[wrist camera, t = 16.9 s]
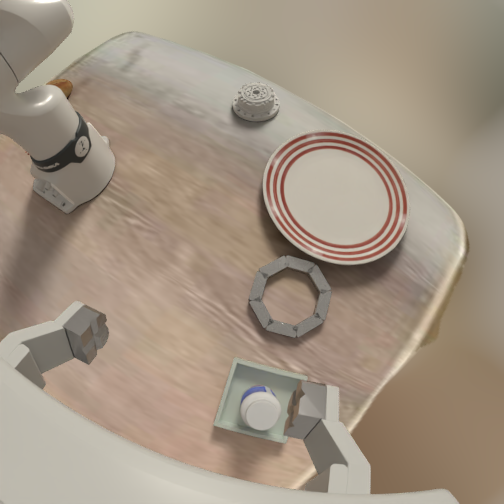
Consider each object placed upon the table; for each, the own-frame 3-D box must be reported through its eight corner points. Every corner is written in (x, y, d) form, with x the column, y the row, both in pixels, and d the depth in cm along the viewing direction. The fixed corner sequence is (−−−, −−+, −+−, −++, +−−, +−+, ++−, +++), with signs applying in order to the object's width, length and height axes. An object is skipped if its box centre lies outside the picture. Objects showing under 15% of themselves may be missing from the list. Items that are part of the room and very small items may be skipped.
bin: (215, 420, 40) (213, 425, 37) (235, 356, 43) (234, 357, 40) (284, 438, 39) (285, 443, 36) (304, 375, 42) (307, 377, 40)
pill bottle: (235, 408, 40) (231, 425, 31) (250, 378, 41) (250, 389, 32) (267, 421, 39) (271, 442, 30) (282, 392, 41) (291, 406, 31)
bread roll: (81, 91, 61) (71, 72, 53) (43, 129, 57) (29, 112, 50) (68, 85, 63) (57, 67, 55) (32, 120, 59) (19, 104, 51)
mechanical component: (250, 129, 55) (288, 111, 57) (250, 115, 51) (290, 96, 53) (224, 103, 58) (260, 86, 59) (222, 89, 54) (261, 73, 55)
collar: (241, 323, 44) (241, 323, 43) (263, 250, 48) (263, 248, 47) (317, 343, 43) (318, 343, 42) (334, 270, 47) (336, 269, 46)
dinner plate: (229, 195, 51) (228, 186, 48) (322, 118, 57) (325, 107, 54) (349, 303, 46) (356, 300, 42) (423, 200, 51) (431, 193, 48)
